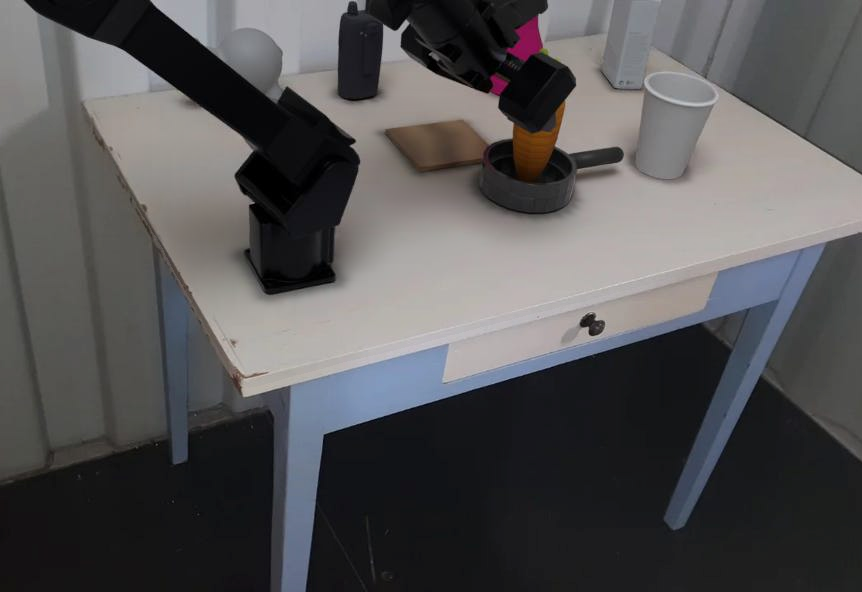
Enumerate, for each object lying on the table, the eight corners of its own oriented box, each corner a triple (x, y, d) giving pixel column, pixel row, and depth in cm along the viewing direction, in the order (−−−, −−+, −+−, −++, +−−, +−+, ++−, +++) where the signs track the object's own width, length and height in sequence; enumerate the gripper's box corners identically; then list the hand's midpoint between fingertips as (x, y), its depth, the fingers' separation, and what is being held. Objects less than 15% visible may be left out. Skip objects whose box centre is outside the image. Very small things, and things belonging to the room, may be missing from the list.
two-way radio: (370, 85, 114) (378, -38, 105) (389, 100, 112) (399, -25, 102) (331, 92, 111) (335, -35, 102) (349, 107, 109) (355, -21, 100)
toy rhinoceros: (169, 94, 106) (163, 21, 100) (272, 86, 111) (271, 16, 105) (184, 122, 101) (178, 47, 96) (291, 113, 106) (291, 41, 101)
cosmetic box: (642, 90, 125) (665, 1, 117) (611, 89, 123) (633, -1, 116) (627, 70, 129) (648, -17, 122) (597, 69, 128) (616, -19, 120)
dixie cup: (640, 142, 112) (661, 64, 106) (704, 166, 109) (729, 87, 103) (612, 167, 106) (632, 85, 100) (679, 193, 103) (704, 111, 97)
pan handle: (567, 174, 100) (570, 159, 99) (558, 166, 101) (561, 151, 100) (625, 164, 103) (628, 150, 102) (615, 157, 104) (619, 142, 103)
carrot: (544, 203, 97) (571, 68, 88) (498, 193, 97) (521, 57, 88) (550, 181, 101) (578, 50, 92) (506, 172, 101) (529, 39, 92)
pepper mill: (475, 76, 121) (496, -85, 108) (526, 76, 123) (553, -82, 111) (491, 101, 116) (516, -65, 103) (545, 100, 118) (575, -62, 105)
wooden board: (419, 172, 99) (419, 167, 99) (384, 133, 105) (385, 128, 105) (499, 160, 104) (499, 155, 103) (461, 123, 110) (462, 119, 109)
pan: (508, 221, 94) (513, 191, 92) (462, 173, 100) (466, 144, 98) (588, 206, 98) (595, 177, 96) (539, 161, 105) (545, 133, 103)
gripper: (583, -26, 73) (641, 80, 86) (436, -95, 83) (508, 10, 96) (495, 86, 73) (566, 174, 86) (360, 4, 83) (442, 94, 97)
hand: (520, 108), depth 91 cm, fingers open, 9 cm apart
